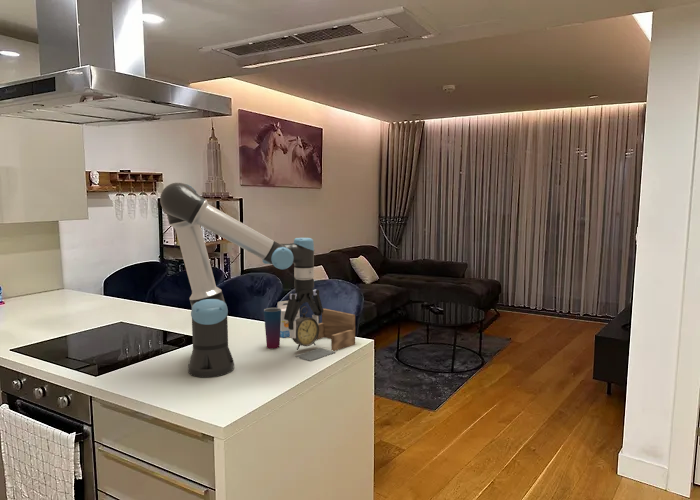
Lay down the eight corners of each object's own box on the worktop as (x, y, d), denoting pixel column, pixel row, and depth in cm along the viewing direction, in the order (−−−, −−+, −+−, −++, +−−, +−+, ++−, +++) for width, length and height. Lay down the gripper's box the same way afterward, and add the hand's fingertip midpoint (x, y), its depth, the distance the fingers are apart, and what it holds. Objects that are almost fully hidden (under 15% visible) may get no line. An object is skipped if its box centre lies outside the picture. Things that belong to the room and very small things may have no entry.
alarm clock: (297, 351, 184) (297, 309, 182) (288, 348, 187) (288, 307, 186) (319, 346, 191) (319, 305, 189) (311, 343, 195) (311, 303, 193)
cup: (285, 346, 195) (284, 309, 193) (273, 350, 189) (272, 312, 188) (272, 343, 199) (272, 307, 197) (260, 347, 193) (260, 310, 192)
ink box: (282, 338, 206) (281, 303, 205) (277, 335, 210) (276, 301, 209) (300, 335, 211) (299, 301, 209) (295, 332, 215) (294, 299, 213)
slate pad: (310, 361, 176) (310, 360, 176) (295, 356, 182) (295, 355, 181) (335, 353, 186) (335, 352, 186) (320, 348, 191) (320, 347, 191)
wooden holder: (334, 351, 188) (333, 320, 187) (302, 342, 200) (302, 313, 199) (355, 344, 197) (355, 314, 196) (324, 335, 209) (323, 308, 208)
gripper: (287, 283, 175) (287, 342, 177) (332, 276, 193) (332, 330, 195) (273, 280, 180) (274, 338, 182) (319, 274, 198) (319, 327, 200)
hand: (304, 334), depth 189 cm, fingers closed on alarm clock, 11 cm apart
